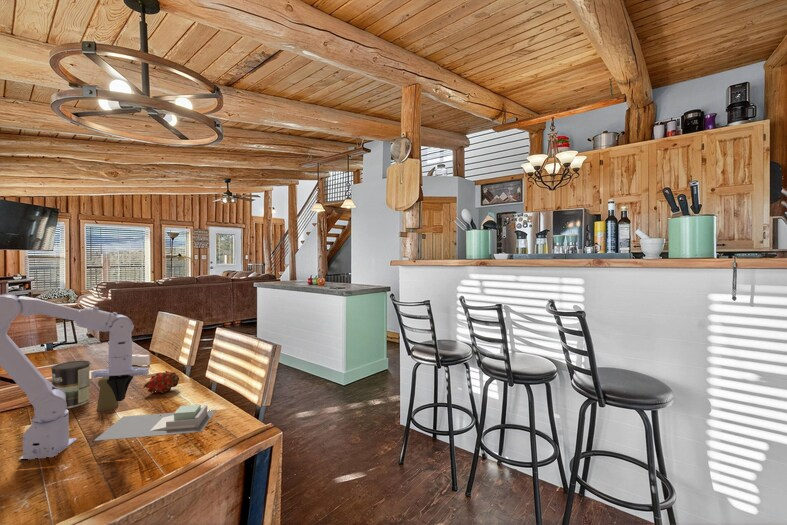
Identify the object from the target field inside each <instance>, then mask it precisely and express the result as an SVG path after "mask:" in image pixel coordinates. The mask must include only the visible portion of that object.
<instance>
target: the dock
mask: <svg viewBox="0 0 787 525" xmlns="http://www.w3.org/2000/svg"><path fill="white" fill-rule="evenodd" d="M207 410H209V411H208V412H207ZM210 410H211V411H210ZM216 411H217V409H208V405H203V406H202V407H201V410H200V411H199V413H198V414H197V415H196V417H195V419H186V420H174V413H175V412H164V413H154V414H137V415H127V416H126V415H124V416H122V417H121V418H119V419H118V420H117V421H116V422H115V423H113V424H112V425H111V426H109V427H108V428H107V429H106V430H105V431H104V432H102V433H101V434H100V435H99V436H97V437H96V438H95V439H94V440H93V441H94V442H96V441H97V442H98V441H107V440H109V441H110V440H121V439H133V438H143V437H146V438H147V437H156V436H157V437H158V436H167V435H168V436H169V435H178V434H179V435H180V434H181V435H182V434H191V433H202V432H203V431H204V429H205V428H206V426H207V424H208V423H210V420H211V419H212V417H213V416H214V415H215V413H216ZM160 415H161V416H160ZM159 416H160V417H159Z"/></svg>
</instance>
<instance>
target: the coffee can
mask: <svg viewBox="0 0 787 525" xmlns="http://www.w3.org/2000/svg"><path fill="white" fill-rule="evenodd" d="M90 362H91V361H89V360H74V361H71V360H70V361H67V362H62V363H61V362H60V363H57V364H54V365H53V366H51V367H50V368H51V383H52V384H53V386H55V387H57V388H60V389H62V390H64V392H65V393H66V403H67V407H66V409H67V410H68V409H72V408H77V407H80V406H83V405H85V404H87V403H89V402H90V400H91V399H90V397H91V396H90V364H91V363H90Z"/></svg>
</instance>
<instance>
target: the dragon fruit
mask: <svg viewBox="0 0 787 525" xmlns="http://www.w3.org/2000/svg"><path fill="white" fill-rule="evenodd" d="M179 380H180V377H179V375H177V374H176V372H171V371H168V370H164V372H157V373H156V374H155V375H152V376H151V378H150V379H149V380H148V381H147V382H146V383H145V384H144V386H143V389H145V388H147V392H148V393H151V394H153V393H152V392H155V391H156V392H159V393H163V394H164V393H166V392H169V391H171V390H172V388H175V387H177V386H178V385H179Z"/></svg>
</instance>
